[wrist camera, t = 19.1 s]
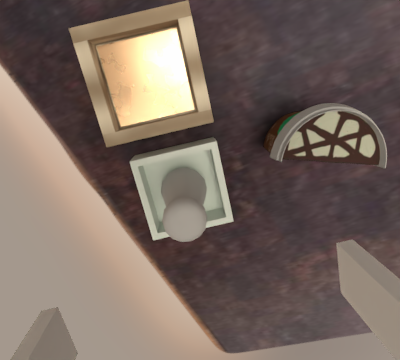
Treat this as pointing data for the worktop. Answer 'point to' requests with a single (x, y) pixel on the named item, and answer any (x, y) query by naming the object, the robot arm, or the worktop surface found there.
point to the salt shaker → (184, 204)
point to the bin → (181, 158)
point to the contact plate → (147, 77)
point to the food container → (327, 136)
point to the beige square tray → (130, 28)
